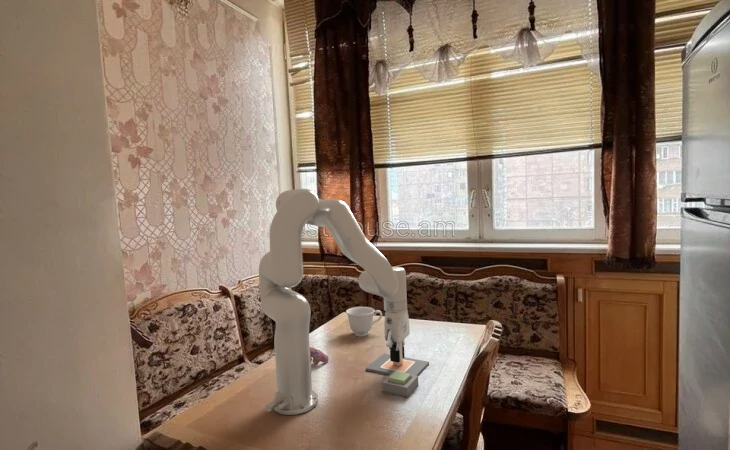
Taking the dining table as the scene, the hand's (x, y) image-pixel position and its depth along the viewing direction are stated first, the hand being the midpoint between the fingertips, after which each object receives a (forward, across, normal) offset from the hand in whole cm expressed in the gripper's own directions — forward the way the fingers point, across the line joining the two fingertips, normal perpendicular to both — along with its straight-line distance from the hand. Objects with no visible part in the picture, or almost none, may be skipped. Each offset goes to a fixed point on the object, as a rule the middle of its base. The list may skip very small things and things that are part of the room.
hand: (397, 359), depth 130 cm
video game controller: (+3, -9, +28) cm, 30 cm away
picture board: (+3, 0, 0) cm, 3 cm away
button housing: (+3, -13, -7) cm, 15 cm away
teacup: (+3, +23, +26) cm, 35 cm away
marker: (+2, 0, 0) cm, 2 cm away
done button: (+1, -13, -7) cm, 15 cm away
